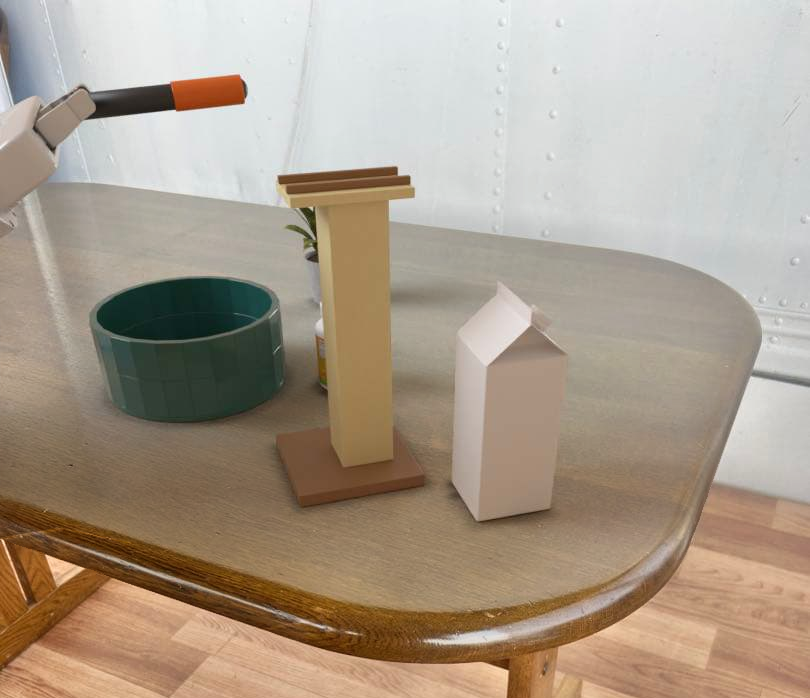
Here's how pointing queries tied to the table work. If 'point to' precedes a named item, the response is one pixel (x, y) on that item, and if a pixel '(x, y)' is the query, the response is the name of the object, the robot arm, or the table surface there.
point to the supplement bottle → (321, 351)
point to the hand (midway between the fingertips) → (90, 94)
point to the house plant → (312, 256)
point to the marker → (169, 97)
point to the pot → (190, 347)
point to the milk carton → (506, 409)
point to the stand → (351, 339)
